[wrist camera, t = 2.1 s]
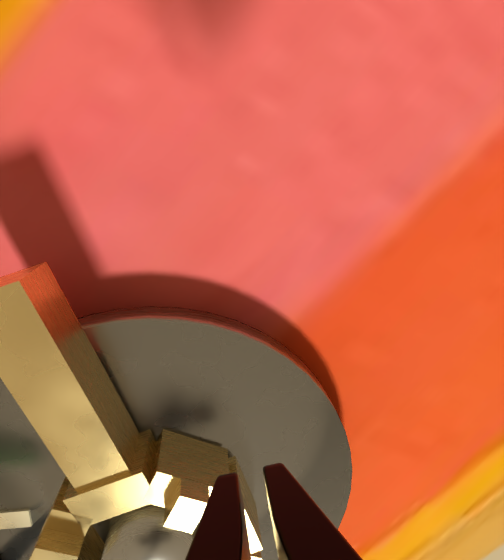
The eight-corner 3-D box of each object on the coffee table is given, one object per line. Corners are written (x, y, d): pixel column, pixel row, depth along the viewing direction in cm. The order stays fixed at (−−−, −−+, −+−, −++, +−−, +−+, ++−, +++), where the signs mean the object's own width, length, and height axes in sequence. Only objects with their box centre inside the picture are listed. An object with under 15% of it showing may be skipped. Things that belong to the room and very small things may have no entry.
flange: (362, 553, 24) (396, 639, 19) (49, 646, 23) (14, 759, 19) (309, 258, 17) (345, 293, 13) (-141, 374, 16) (-263, 453, 12)
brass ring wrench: (272, 540, 20) (285, 610, 17) (107, 600, 20) (90, 681, 17) (136, 230, 14) (118, 251, 11) (-103, 312, 14) (-190, 357, 11)
